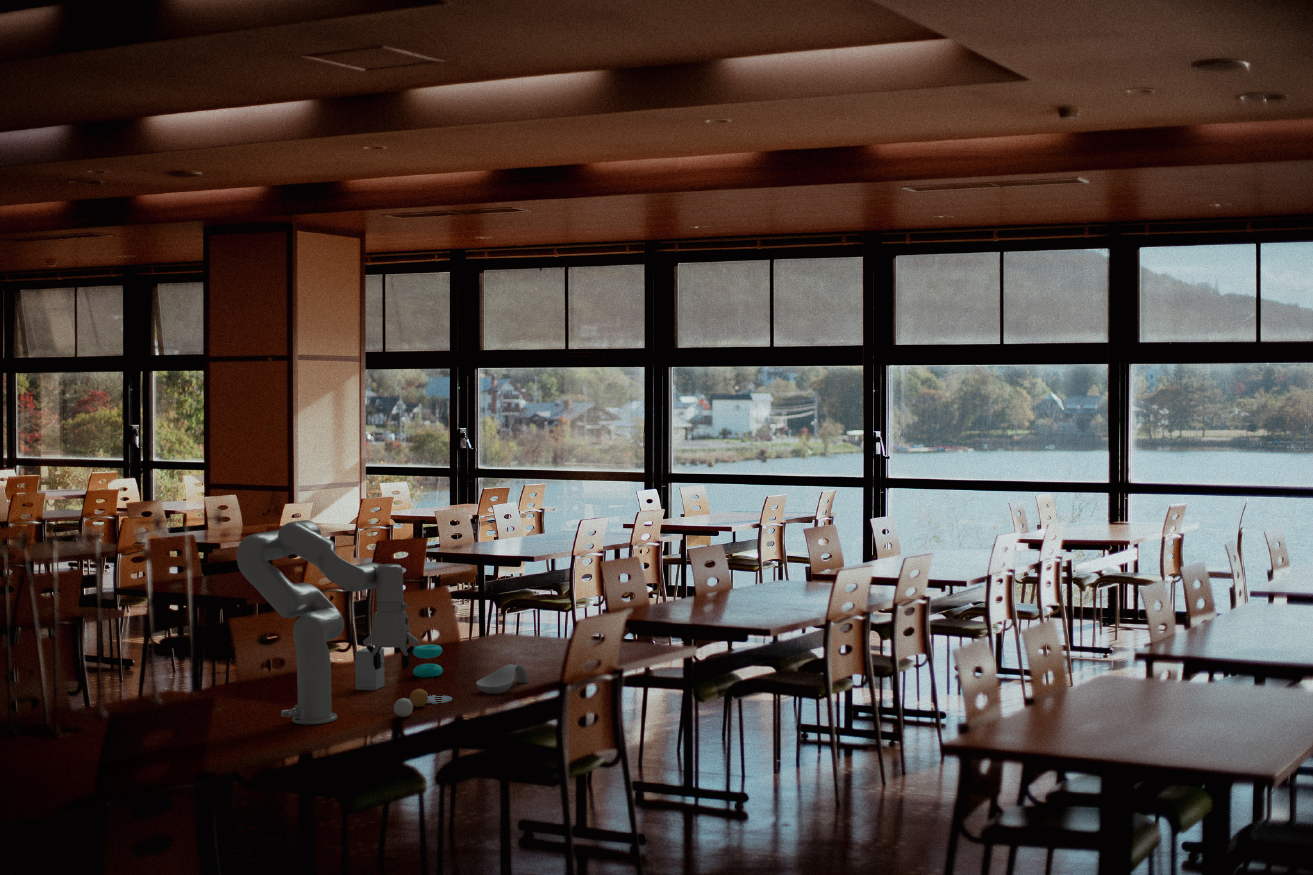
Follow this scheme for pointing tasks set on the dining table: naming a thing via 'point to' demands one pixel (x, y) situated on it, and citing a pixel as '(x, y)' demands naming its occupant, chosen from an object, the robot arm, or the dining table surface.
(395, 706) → the cue ball
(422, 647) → the donuts
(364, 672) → the supplement box
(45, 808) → the dining table surface
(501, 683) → the spoon rest
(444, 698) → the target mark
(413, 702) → the orange ball
